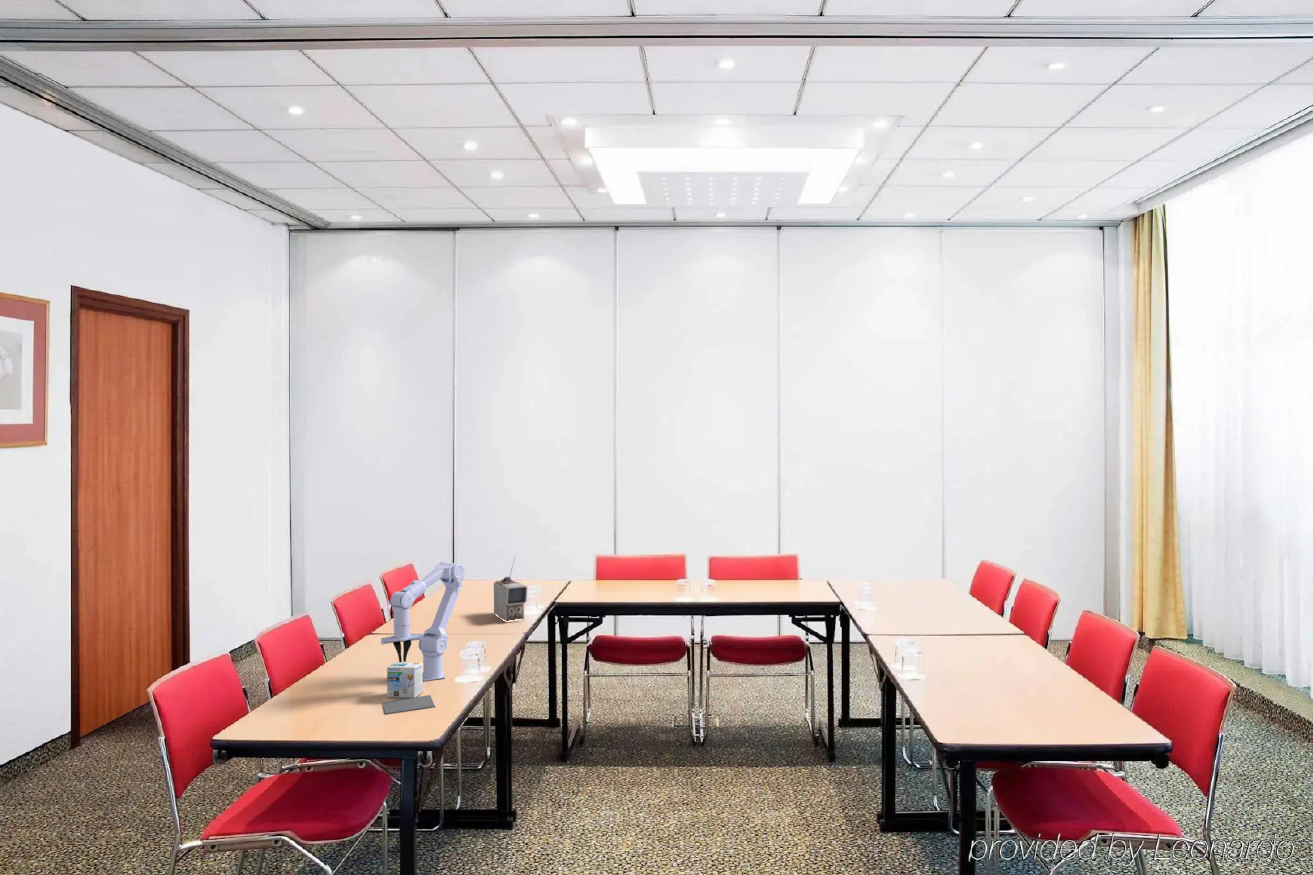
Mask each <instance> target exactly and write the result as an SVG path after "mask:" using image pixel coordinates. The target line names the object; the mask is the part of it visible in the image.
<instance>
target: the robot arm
mask: <svg viewBox="0 0 1313 875" xmlns="http://www.w3.org/2000/svg"><path fill="white" fill-rule="evenodd" d="M465 576H466V570H465V567H464V565H463V564H461V563H455V562H446V561H441V562H440V563H439V564H437V565H435V567H434V569H433V570H432V571H430V572H429V573H428V574H426V575H425V576H424V577H423V578H421V580H419V579H416V580H412V581H411V583H409V585H407V586H405V587H404V588H401V591H395V592H394V593H393V594H392V595H391V597H390V600H389V604H390V606H391V607H392V608H391V609H392V611H393V635H391V636H388V637H380V638H381V639H380V643H381V646H382V645H386V644H393V647H394V648H395V650H396V654H397V657H398V662H404V663H407V657H408V656H407V655H408V654H409V651H410V648H411V646H412V642H414V641H418V649H419V651H421V654H422V660H423V661H422V674H423V681H424V682H425V681H427V682H428V681H434V680H439V679H440V680H441V679H445V678H446V675H445V674H444V663H443V662H444V660H443V656H444V654H445V651H446V649H447V648H448V640H449V635H448V633H447V632H446V629H447V626H448V624H449V621H450V618H451V616H452V614H453V611H454V608H455V606H456V602H457V600H458V597H459V595H460V592H461V590H462V585H463V584H462V583H463V580H464V577H465ZM439 580H440V581H441V582H442V584H443V585H444V587H445V589H444V593H443V595H442V598H441V601H440V603H439V606H438V609H437V611H436V613H435V617H434V619H433V622H432V623H431V626H430V627H428V628H426V629H425V631H424V633H411V608H412V606H413V604H414V602H415V601H416V600H417V599H418V598H419V597H421V596H422V595H423V594H425V593H426V589H427V588H428V587H429V586H431V585H433V584H435V583H436V582H437V581H439ZM402 645H403V654H402ZM402 655H403V656H402ZM402 658H403V660H402Z"/></svg>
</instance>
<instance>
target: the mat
mask: <svg viewBox="0 0 1313 875" xmlns="http://www.w3.org/2000/svg"><path fill="white" fill-rule="evenodd" d="M434 703H435V702H434V700H433V699H432V696H431V694H428V695H422V696H420V695H419V696H416V697H415V698H400V699H393V700H386V701H382V706H383V709H384V714H385V715H392V714H397V713H406V712H410V711H413V712H414V711H418V710H425V709H432V708H435V707H436V706H435V705H436V704H434Z"/></svg>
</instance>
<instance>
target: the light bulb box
mask: <svg viewBox="0 0 1313 875" xmlns="http://www.w3.org/2000/svg"><path fill="white" fill-rule="evenodd" d="M386 670H387V671H386V673H387V674H386V677H387V679H386V682H387V683H386V684H387V685H386V686H387V688H386V694H387V698H403V699H406V698H415V697H419V696H420V694H421V695H422V693H423V690H424V689H423V688H424V687H423V686H424V684H423V681H424V680H423V674H422V673H423V662H404V661H402V662H399V661H398V662H397V661H396V662H393V663H392V664H391V665H389V666H387V667H386Z"/></svg>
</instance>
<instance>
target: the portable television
mask: <svg viewBox="0 0 1313 875" xmlns="http://www.w3.org/2000/svg"><path fill="white" fill-rule="evenodd" d="M513 557H514V559H513V562H512V566H511V570H510V573H509V576H505V577H504V578H503V579H502V578H501V580H497V581H495V582H493V614H494V613H495V614H497V615H498V616H499V617H500V618H502V619H504V620H506V621H509V620H515V619H524V620H525V604H526V603H527V602H528V586H526V585H524V584H522V583H520V582H518V581H514V580H513V579H512V578H511V575H512V572H513V566H514V563H515V559H516V554H514V556H513Z"/></svg>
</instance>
